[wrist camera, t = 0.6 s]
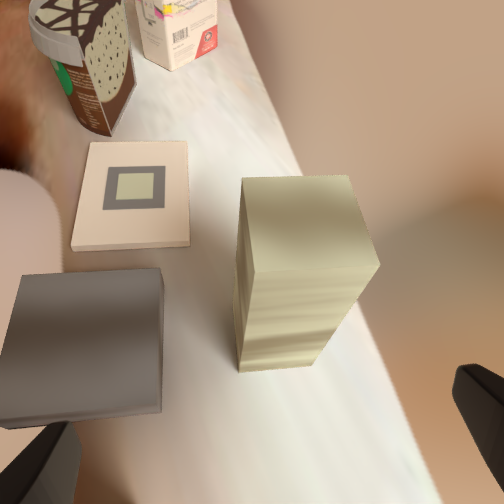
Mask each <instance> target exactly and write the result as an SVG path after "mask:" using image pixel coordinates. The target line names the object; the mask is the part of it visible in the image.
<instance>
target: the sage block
mask: <svg viewBox="0 0 504 504" xmlns="http://www.w3.org/2000/svg"><path fill="white" fill-rule="evenodd" d="M379 266H380V263H379V260H378V257H377V255H376V252H375V249H374V247H373V244H372V241H371V238H370V235H369V232H368V230H367V227H366V224H365V221H364V219H363V216H362V213H361V211H360V208H359V205H358V202H357V199H356V197H355V194H354V191H353V188H352V186H351V183H350V180H349V177H348V175H330V176H290V177H250V178H242V184H241V198H240V211H239V224H238V238H237V251H236V264H235V277H234V291H233V304H232V306H233V316H234V327H235V338H236V349H237V360H238V371H239V373H241V372H252V371H263V370H273V369H284V368H295V367H306V366H312V364H313V363H314V361H315V360H316V358H317V357H318V355H319V354H320V353H321V351H322V350H323V348H324V347H325V345H326V344H327V342H328V341H329V339H330V338H331V336H332V335H333V333H334V332H335V331H336V329H337V328H338V326H339V325H340V323H341V322H342V320H343V319H344V317H345V316H346V314H347V313H348V311H349V310H350V309H351V307H352V306H353V304H354V303H355V301H356V300H357V298H358V297H359V295H360V294H361V292H362V291H363V290H364V288H365V286H366V285H367V283H368V282H369V281H370V279H371V278H372V276H373V275H374V273H375V272H376V270H377V269H378V267H379Z"/></svg>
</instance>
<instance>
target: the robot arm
mask: <svg viewBox="0 0 504 504" xmlns="http://www.w3.org/2000/svg"><path fill="white" fill-rule="evenodd" d="M452 395H453V399H454V401H455V403H456V405H457V407H458V409H459V411H460V413H461V415H462V417H463V419H464V421H465V423H466V425H467V427H468V429H469V431H470V433H471V435H472V437H473V439H474V441H475V443H476V445H477V447H478V449H479V451H480V453H481V455H482V456H483V459H484V460H485V462H486V464H487V466H488V468H489V469H490V471H491V473H492V474H493V476H494V477H495V479H496V481H497V482H498V484H499V486H500V487H501V489H502V490H503V492H504V378H503V377H501V376H499V375H497V374H495V373H494V372H492V371H490V370H488V369H486V368H484V367H483V366H481V365H478V364H467V365H461V366H459V367H458V368H457V370H456V374H455V378H454V383H453V388H452ZM81 455H82V446H81V442H80V440H79V438H78V435H77V433H76V431H75V428H74V426H73V424H72V422H70V421H68V420H66V421H58V422H53V423H50V424H49V425H47V426H46V427H45V428H44V429H43V430H42V432H41V433H40V434H38V436H37V437H36V438H35V439H34V440H33V441H32V442H31V443H30V444H29V445H28V446H27V447H26V448H25V449H24V450H23V451H22V452H21V453H20V454H19V455H18V456H17V457H16V458H15V459H14V460H13V461H12V462H11V463H10V464H9V465H8V466H7V467H6V468H5V469H4V470H3V471H2V472H1V473H0V504H73V500H74V494H75V489H76V483H77V478H78V472H79V467H80V461H81Z"/></svg>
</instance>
